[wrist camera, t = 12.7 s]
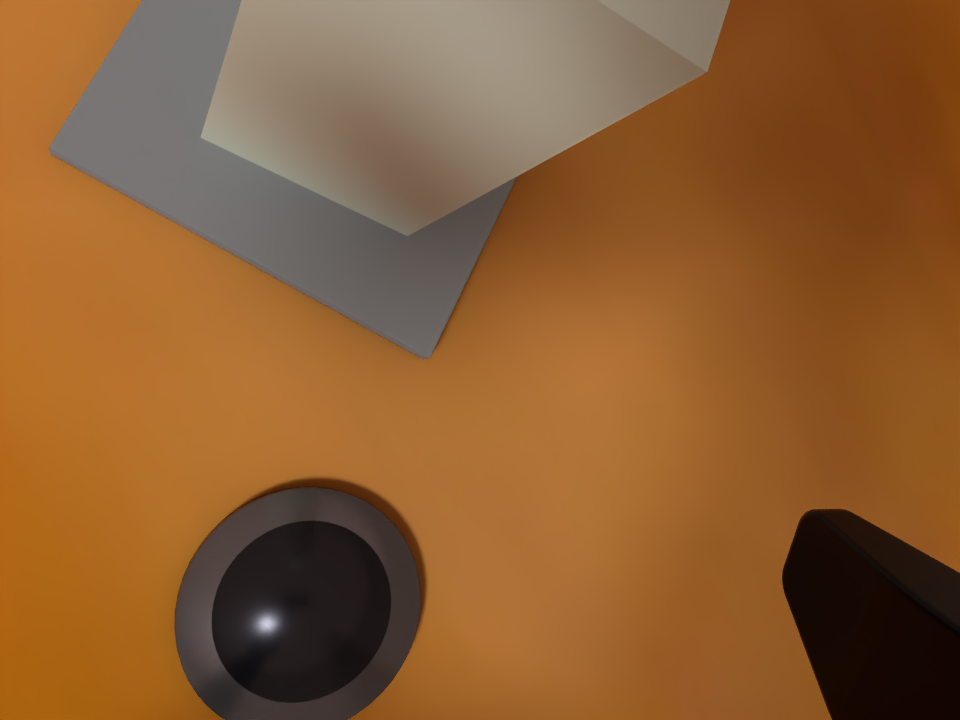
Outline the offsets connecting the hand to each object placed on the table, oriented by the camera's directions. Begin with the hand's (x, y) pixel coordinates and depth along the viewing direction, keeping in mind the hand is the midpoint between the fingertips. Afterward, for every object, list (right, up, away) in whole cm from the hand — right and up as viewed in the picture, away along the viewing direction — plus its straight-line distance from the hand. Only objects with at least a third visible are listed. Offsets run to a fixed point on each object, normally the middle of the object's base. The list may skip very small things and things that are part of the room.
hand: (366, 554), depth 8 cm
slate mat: (-2, +9, +13) cm, 16 cm away
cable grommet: (-3, -4, +13) cm, 14 cm away
